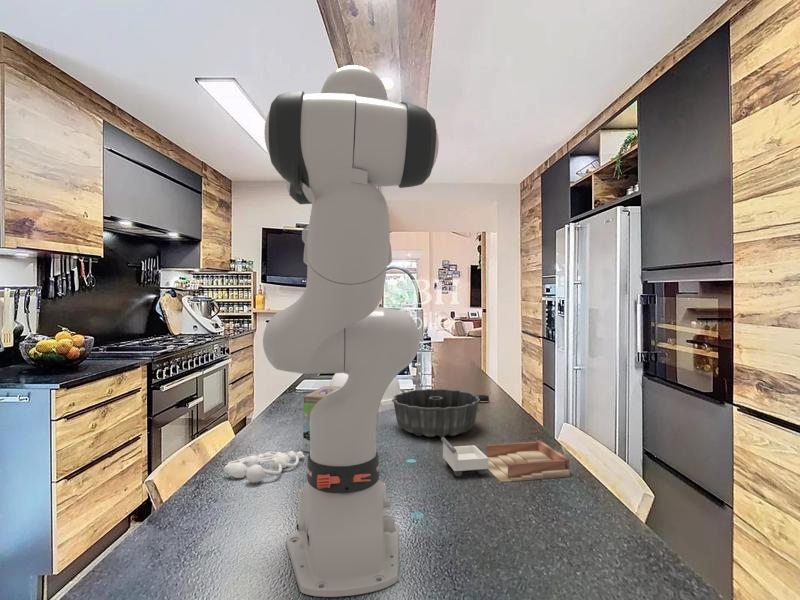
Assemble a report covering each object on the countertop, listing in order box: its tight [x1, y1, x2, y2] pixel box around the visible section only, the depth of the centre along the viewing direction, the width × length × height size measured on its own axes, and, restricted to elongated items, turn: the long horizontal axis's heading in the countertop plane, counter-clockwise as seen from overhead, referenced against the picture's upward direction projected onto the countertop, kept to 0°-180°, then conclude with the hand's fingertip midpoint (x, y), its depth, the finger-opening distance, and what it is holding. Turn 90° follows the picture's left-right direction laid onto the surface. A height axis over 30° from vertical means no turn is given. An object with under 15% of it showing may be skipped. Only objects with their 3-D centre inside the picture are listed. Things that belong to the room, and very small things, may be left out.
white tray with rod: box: [440, 436, 488, 478], centre depth 109 cm, size 9×8×6 cm
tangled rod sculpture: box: [223, 450, 305, 484], centre depth 111 cm, size 19×14×4 cm
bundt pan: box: [392, 388, 480, 439], centre depth 142 cm, size 26×26×10 cm
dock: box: [485, 439, 571, 483], centre depth 112 cm, size 16×17×4 cm
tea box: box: [302, 385, 341, 453], centre depth 128 cm, size 15×10×15 cm, turn 168°
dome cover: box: [329, 372, 403, 413], centre depth 177 cm, size 32×30×14 cm
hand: (347, 285), depth 108 cm, fingers open, 8 cm apart
